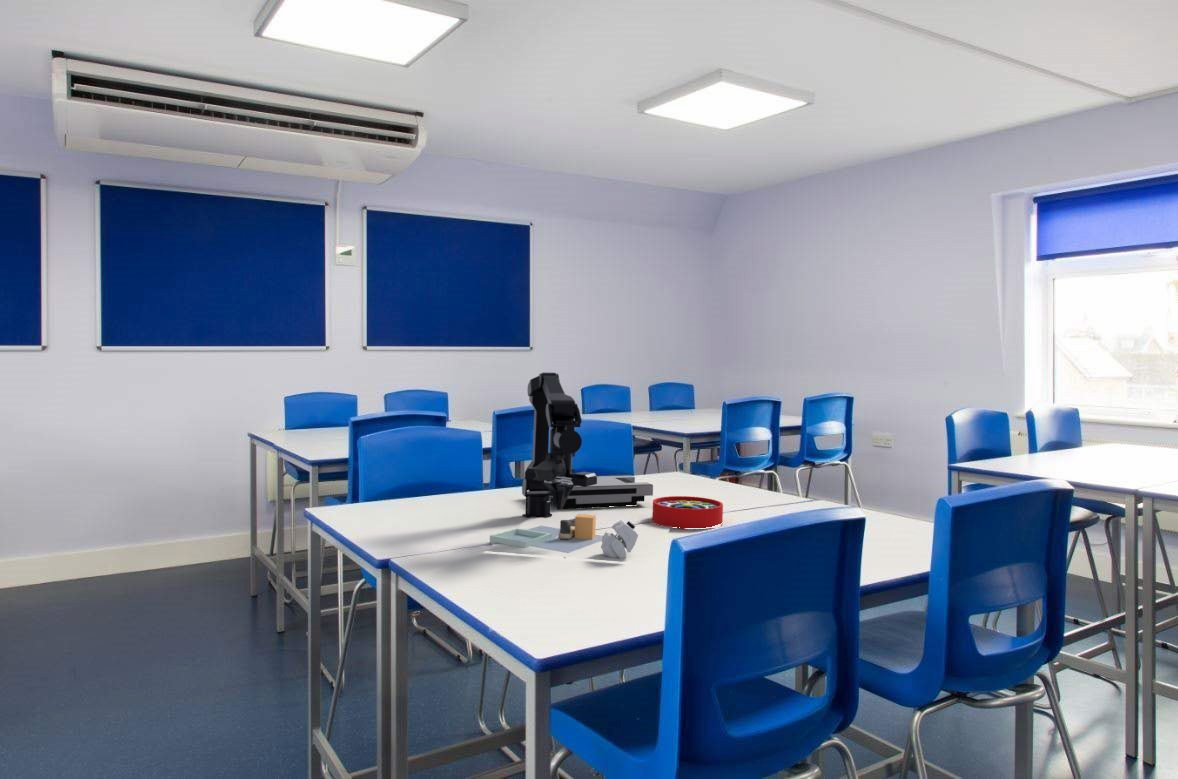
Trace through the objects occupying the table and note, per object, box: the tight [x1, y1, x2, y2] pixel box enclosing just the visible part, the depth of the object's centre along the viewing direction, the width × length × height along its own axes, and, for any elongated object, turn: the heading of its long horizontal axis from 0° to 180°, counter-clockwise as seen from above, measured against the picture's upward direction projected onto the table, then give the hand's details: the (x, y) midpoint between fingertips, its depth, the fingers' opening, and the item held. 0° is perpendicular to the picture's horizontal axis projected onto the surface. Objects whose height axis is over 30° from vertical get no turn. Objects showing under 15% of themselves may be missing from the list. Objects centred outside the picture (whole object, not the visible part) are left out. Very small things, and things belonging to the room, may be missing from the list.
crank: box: [558, 517, 575, 539], centre depth 209 cm, size 15×5×4 cm, turn 166°
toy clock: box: [651, 495, 724, 528], centre depth 230 cm, size 20×6×20 cm
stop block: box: [574, 513, 597, 539], centre depth 205 cm, size 4×5×6 cm
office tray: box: [549, 474, 654, 510], centre depth 257 cm, size 21×32×8 cm, turn 108°
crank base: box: [506, 525, 603, 554], centre depth 204 cm, size 22×20×1 cm
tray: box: [489, 527, 552, 548], centre depth 201 cm, size 11×11×2 cm
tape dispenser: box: [600, 519, 639, 559], centre depth 188 cm, size 6×7×10 cm
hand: (559, 510), depth 204 cm, fingers closed
